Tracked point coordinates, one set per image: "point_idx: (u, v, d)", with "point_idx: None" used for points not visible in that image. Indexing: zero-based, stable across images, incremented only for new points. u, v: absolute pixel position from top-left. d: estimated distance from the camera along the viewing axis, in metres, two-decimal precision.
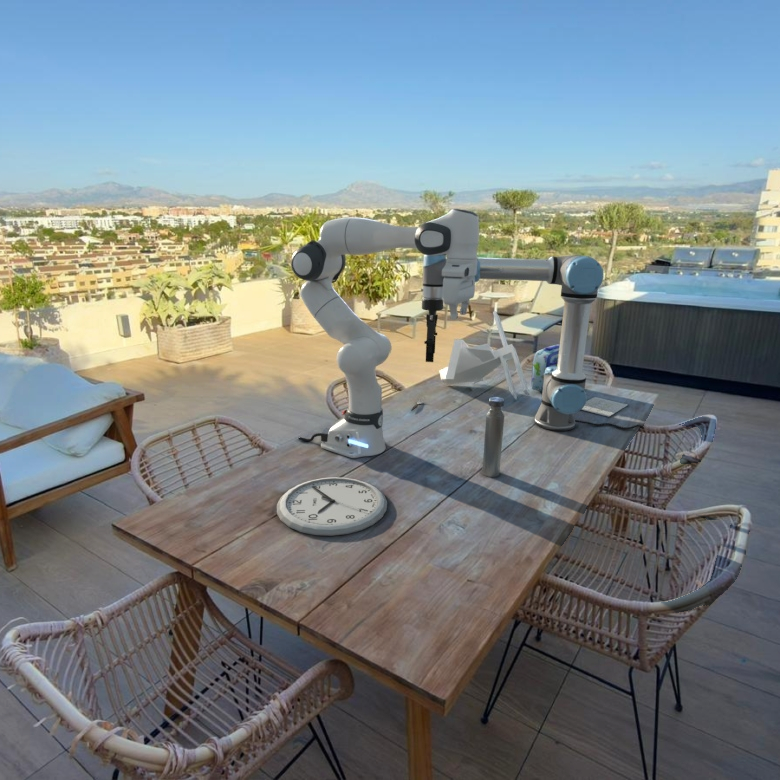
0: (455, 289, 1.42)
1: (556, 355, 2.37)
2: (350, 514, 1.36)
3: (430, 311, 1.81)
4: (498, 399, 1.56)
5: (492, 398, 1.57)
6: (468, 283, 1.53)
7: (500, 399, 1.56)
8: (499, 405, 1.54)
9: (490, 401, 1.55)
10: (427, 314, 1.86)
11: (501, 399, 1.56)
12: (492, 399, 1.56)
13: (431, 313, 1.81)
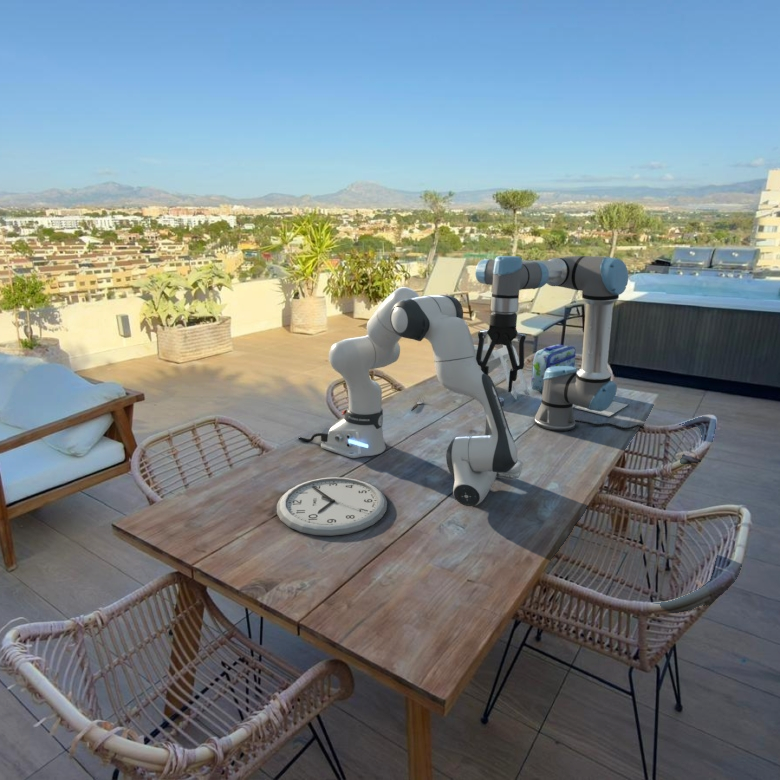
0: None
1: (556, 355, 2.37)
2: (350, 514, 1.36)
3: None
4: None
5: None
6: None
7: (500, 399, 1.56)
8: None
9: None
10: None
11: (501, 399, 1.56)
12: None
13: None
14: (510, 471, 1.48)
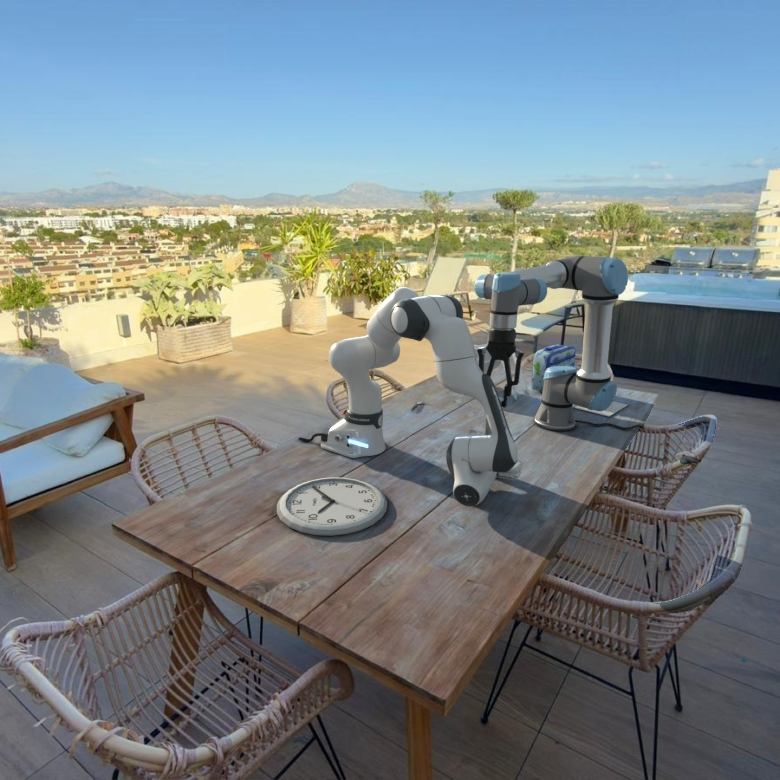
0: None
1: (556, 355, 2.37)
2: (350, 514, 1.36)
3: None
4: None
5: None
6: None
7: (500, 399, 1.56)
8: None
9: None
10: None
11: (501, 399, 1.56)
12: None
13: None
14: (510, 471, 1.48)
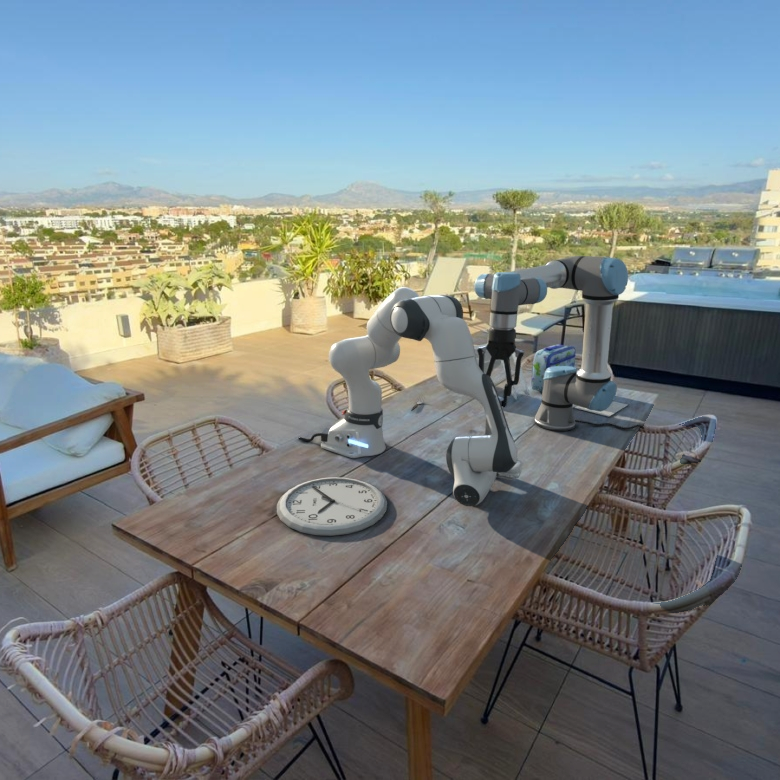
0: None
1: (556, 355, 2.37)
2: (350, 514, 1.36)
3: None
4: None
5: None
6: None
7: None
8: None
9: (502, 402, 1.55)
10: None
11: None
12: (500, 400, 1.55)
13: None
14: (510, 471, 1.48)
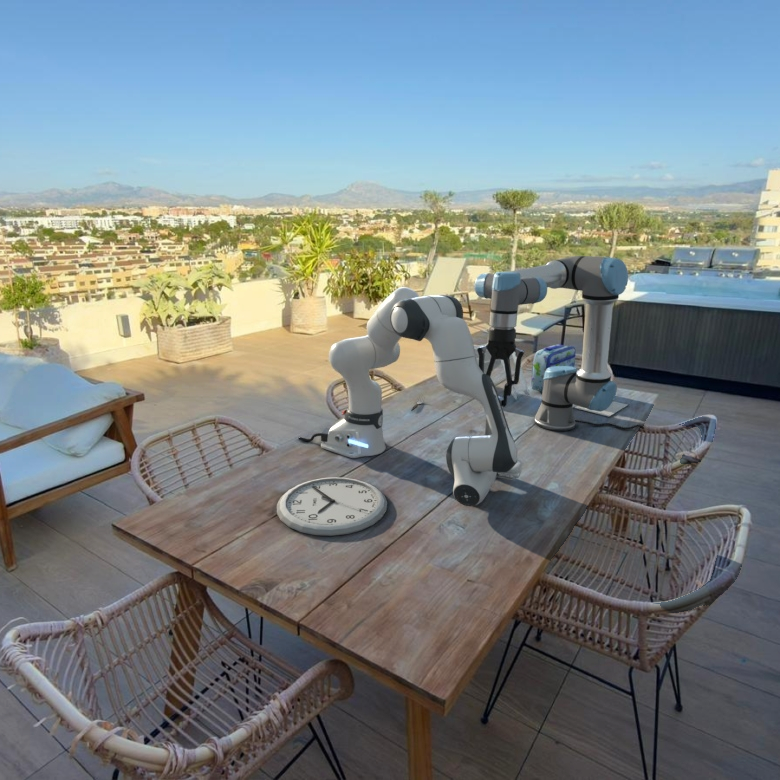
0: None
1: (556, 355, 2.37)
2: (350, 514, 1.36)
3: None
4: None
5: (500, 398, 1.56)
6: None
7: None
8: None
9: None
10: None
11: None
12: None
13: None
14: (510, 471, 1.48)
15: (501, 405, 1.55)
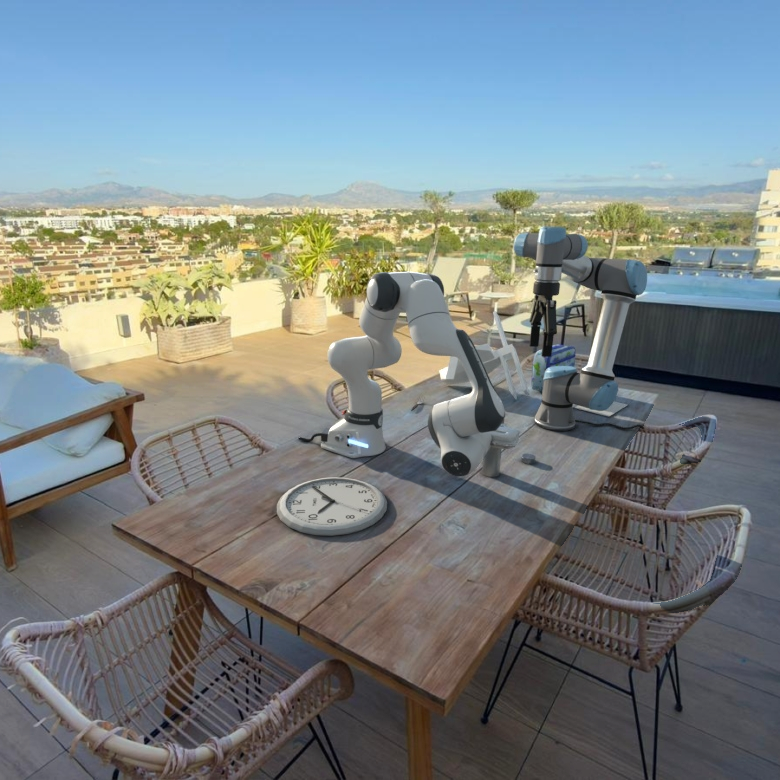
0: None
1: (556, 355, 2.37)
2: (350, 514, 1.36)
3: (547, 296, 1.52)
4: (529, 455, 1.72)
5: (527, 457, 1.71)
6: None
7: (528, 454, 1.73)
8: None
9: (531, 460, 1.70)
10: (538, 300, 1.57)
11: (528, 454, 1.73)
12: (530, 457, 1.70)
13: (548, 299, 1.53)
14: (505, 439, 1.33)
15: (521, 459, 1.73)
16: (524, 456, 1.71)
